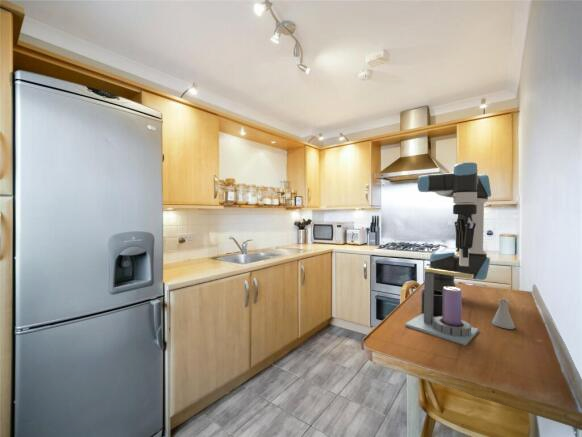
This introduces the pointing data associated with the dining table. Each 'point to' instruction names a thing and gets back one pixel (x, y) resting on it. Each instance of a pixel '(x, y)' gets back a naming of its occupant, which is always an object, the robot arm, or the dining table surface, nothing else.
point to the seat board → (433, 331)
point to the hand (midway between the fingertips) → (463, 265)
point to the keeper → (448, 272)
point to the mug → (435, 303)
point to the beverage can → (452, 306)
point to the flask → (503, 316)
